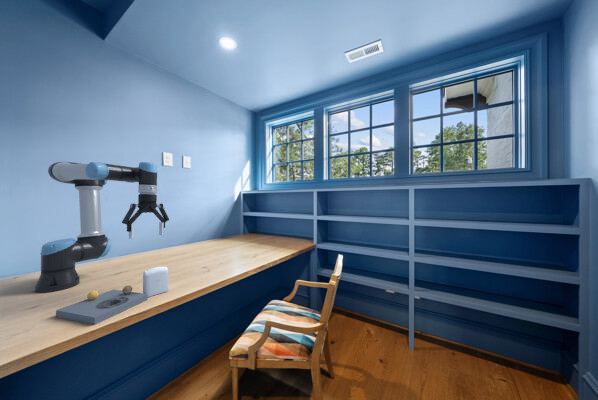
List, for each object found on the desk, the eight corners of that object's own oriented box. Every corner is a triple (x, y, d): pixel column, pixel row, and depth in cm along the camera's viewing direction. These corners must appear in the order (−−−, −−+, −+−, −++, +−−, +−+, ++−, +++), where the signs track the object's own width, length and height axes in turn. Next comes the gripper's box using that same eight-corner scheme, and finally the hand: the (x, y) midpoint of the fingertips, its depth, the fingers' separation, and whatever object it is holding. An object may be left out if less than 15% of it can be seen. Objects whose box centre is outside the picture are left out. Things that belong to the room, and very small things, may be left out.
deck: (55, 316, 81) (55, 310, 81) (113, 294, 101) (113, 289, 101) (94, 324, 76) (94, 317, 76) (147, 299, 96) (147, 294, 96)
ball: (84, 300, 89) (84, 292, 89) (94, 297, 92) (94, 289, 92) (91, 301, 88) (91, 293, 88) (100, 298, 91) (100, 289, 91)
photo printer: (144, 298, 97) (144, 271, 97) (141, 296, 99) (141, 269, 99) (169, 291, 104) (170, 265, 105) (166, 289, 107) (166, 264, 107)
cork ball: (120, 294, 95) (120, 286, 95) (128, 291, 98) (128, 283, 98) (126, 295, 94) (126, 287, 94) (134, 292, 97) (134, 284, 97)
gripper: (121, 192, 95) (120, 241, 95) (176, 194, 117) (176, 234, 117) (113, 192, 99) (112, 239, 98) (168, 194, 120) (168, 232, 120)
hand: (147, 236), depth 108 cm, fingers open, 13 cm apart
